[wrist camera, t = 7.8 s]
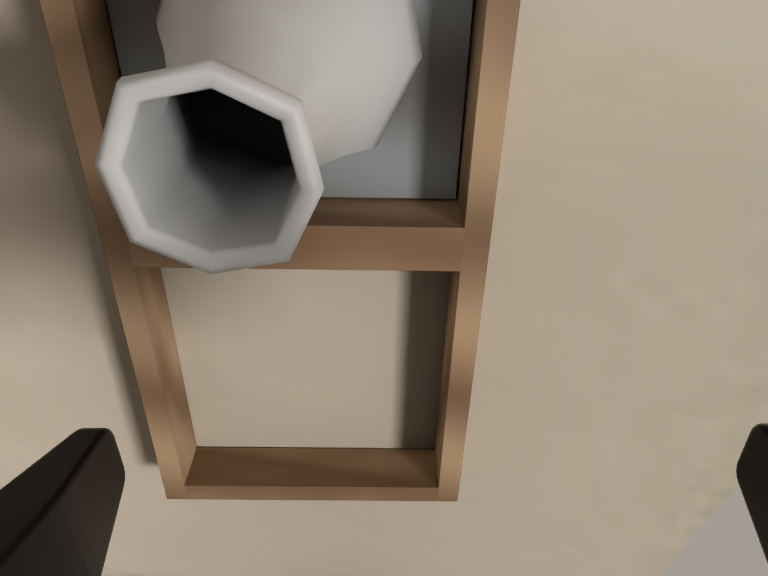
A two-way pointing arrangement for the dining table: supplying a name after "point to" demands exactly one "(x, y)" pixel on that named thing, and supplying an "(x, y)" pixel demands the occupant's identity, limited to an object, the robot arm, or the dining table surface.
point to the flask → (250, 121)
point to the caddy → (319, 240)
